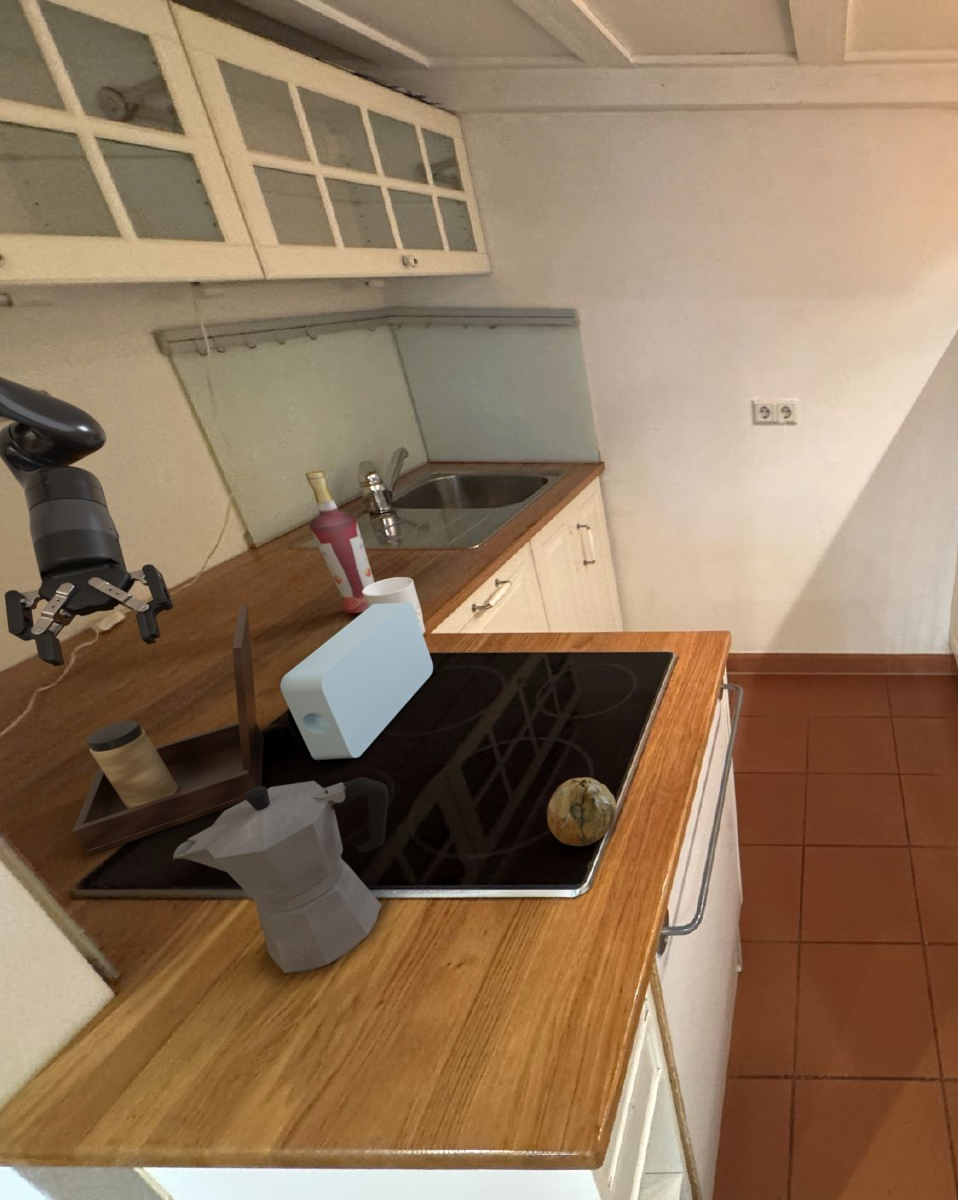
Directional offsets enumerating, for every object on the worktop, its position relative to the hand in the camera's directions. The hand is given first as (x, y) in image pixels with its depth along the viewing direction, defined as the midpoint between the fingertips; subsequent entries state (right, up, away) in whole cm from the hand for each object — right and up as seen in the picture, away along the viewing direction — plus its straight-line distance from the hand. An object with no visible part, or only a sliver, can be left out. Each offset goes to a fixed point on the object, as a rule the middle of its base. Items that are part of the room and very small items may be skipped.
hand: (104, 652), depth 82 cm
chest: (+9, -18, +2) cm, 20 cm away
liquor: (0, +4, +48) cm, 48 cm away
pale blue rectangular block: (+24, -11, +16) cm, 31 cm away
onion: (+63, -20, -7) cm, 67 cm away
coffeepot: (+42, -26, -17) cm, 52 cm away
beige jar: (+6, -18, 0) cm, 19 cm away
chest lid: (+16, -4, +1) cm, 17 cm away
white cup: (+14, 0, +38) cm, 41 cm away
